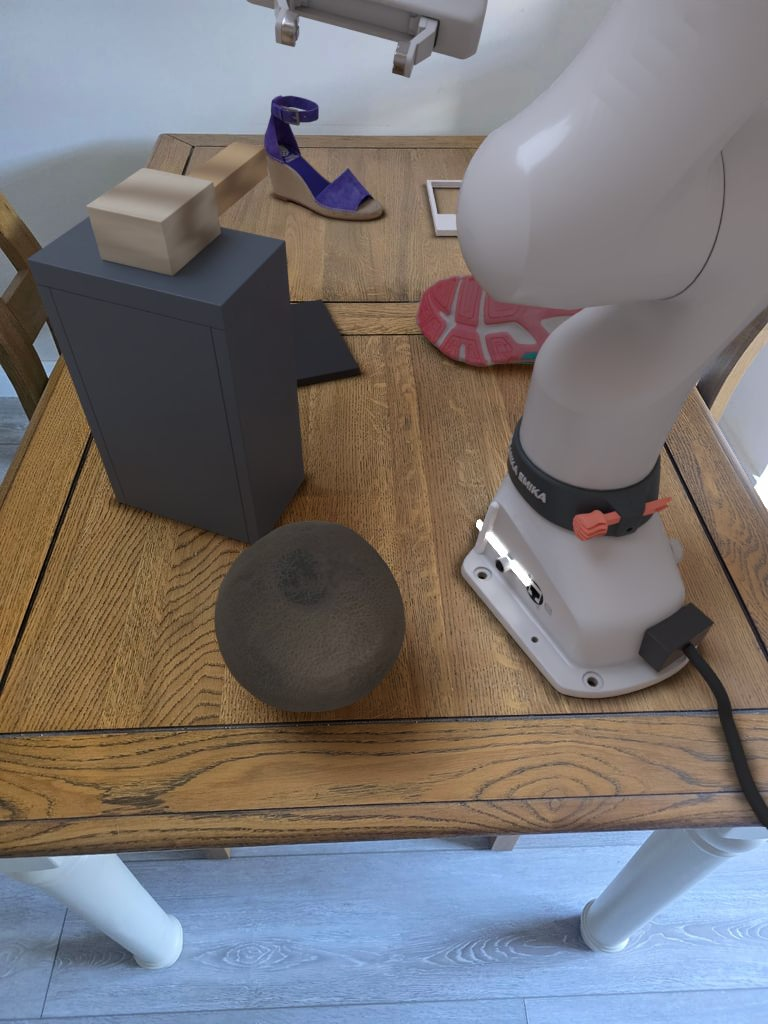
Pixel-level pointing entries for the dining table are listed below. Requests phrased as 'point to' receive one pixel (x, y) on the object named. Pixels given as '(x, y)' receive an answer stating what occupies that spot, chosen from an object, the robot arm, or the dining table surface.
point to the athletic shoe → (483, 324)
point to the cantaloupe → (309, 617)
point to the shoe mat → (318, 345)
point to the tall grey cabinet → (184, 376)
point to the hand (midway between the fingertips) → (343, 52)
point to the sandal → (310, 168)
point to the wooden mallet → (173, 209)
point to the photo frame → (442, 222)
